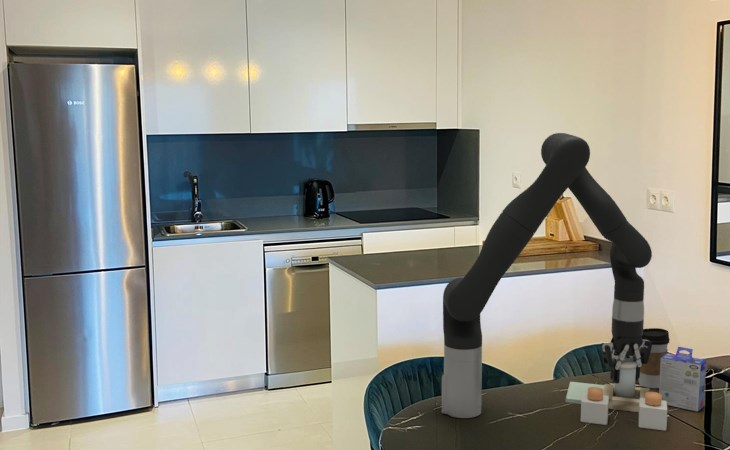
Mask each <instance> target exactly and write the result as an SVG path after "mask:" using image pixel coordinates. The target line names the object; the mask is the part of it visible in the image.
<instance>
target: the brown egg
mask: <svg viewBox="0 0 730 450" xmlns="http://www.w3.org/2000/svg"><path fill="white" fill-rule="evenodd" d="M661 402H662V395H661V394H660V393H659V392H656V391H650V392H646V393H645V403H647V404H649V405H654V406H658V405H661Z"/></svg>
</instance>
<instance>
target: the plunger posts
mask: <svg viewBox="0 0 730 450" xmlns="http://www.w3.org/2000/svg"><path fill="white" fill-rule="evenodd" d="M608 404H609V396H606V395H603V399H602V400H591V399H589V398H588V397H587V393H583V396H582V400H581V404H580V422H581V423H582V422H583V423H589V424H596V425H604V426H607V425H608V420H609V409H608ZM667 423H668V405H667V401H664V400H662V402H661V405H658V406H654V405H649V404H647V403H645V398H640V399H639V412H638V428H642V429H650V430H659V431H667V428H668V427H667V426H668V425H667Z"/></svg>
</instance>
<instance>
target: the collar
mask: <svg viewBox="0 0 730 450" xmlns="http://www.w3.org/2000/svg"><path fill="white" fill-rule="evenodd" d="M604 385H605V386H604V393H603V395H606V396H609V404H608V410H617V411H625V412H631V413H632V412H633V413H639V399H640V398H645V393H646V392H651V391H650V389H651V388H647V387H640V386H639V387H637V386H635V398H634V399H632V398H623V397H615V396H614V384H611V383H604Z"/></svg>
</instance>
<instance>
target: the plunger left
mask: <svg viewBox="0 0 730 450" xmlns="http://www.w3.org/2000/svg"><path fill="white" fill-rule="evenodd" d="M587 397H588V398H589V399H591V400H602V399H603V389H601V388H598V387H589V388H588V393H587Z"/></svg>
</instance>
